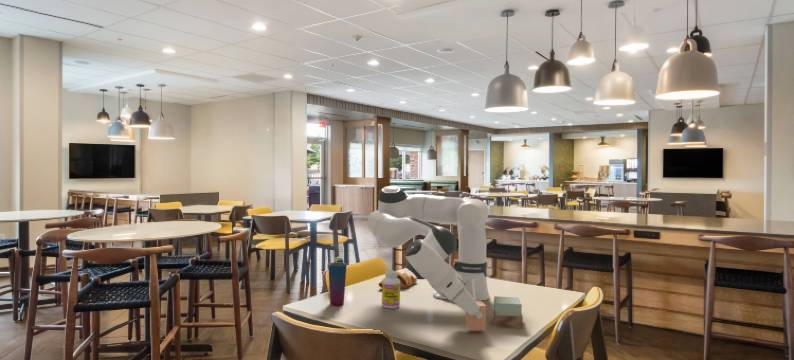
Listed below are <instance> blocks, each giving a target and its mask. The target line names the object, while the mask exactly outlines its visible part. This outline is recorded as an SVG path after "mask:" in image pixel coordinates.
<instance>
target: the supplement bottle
mask: <svg viewBox="0 0 794 360" xmlns="http://www.w3.org/2000/svg"><path fill="white" fill-rule="evenodd" d="M398 272H399V271H396V270H392V269H391V270H385V271H384V275H385V277H384V278H383V279H382V280H383V281H382V280H381V281H382V288H381V306H382V308H384V309H397V308H399V307H400V305H401V303H400V302H401V289H400V280H399V279H398V278H397V276H398Z"/></svg>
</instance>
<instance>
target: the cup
mask: <svg viewBox="0 0 794 360" xmlns="http://www.w3.org/2000/svg"><path fill="white" fill-rule="evenodd" d="M327 265H328V266H327V268H328V283H329V284H328V285H329V304H330V305H331V306H333V307H341V306H343V305H344V304H345V294H346V293H345V290H346V281H347V279H346V278H347V266H348V264H347V263H346V262H343V263H342V262H335V261H334V262H329V263H327Z"/></svg>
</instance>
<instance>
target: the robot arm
mask: <svg viewBox="0 0 794 360" xmlns="http://www.w3.org/2000/svg"><path fill="white" fill-rule="evenodd" d="M377 197H378V198H377V200H378V202H377V203H378V206H377V210H376V209H375V210H374V211H372V212H371V213H370V214H369V215H368V218H367V221H366V222H367V226H368V229H369V231H370V232H371V234H372V235H373V237H374V238H375V239H376V240H377V241H378V242H379V243H381V244H382V245H384V247H388V248H392V249H393V248H398V247H400V246H402V245H404V244H406V243H407V242H408V241H409V240H411V239H413V238H415V237H416V236H419V235H421V236H423V237H424V238H423V239H421V238H419V239H415V240H414V241H412V242H411V243H410V244H409V245H408V246H407V248H406V249H405V252H404V257H405V267H406V269H407V271H410V272H411V274H413V275H414V277H417V280H426V281H427V282H428V284H429V285H430V287H431V288H432V289H433V292H432V294H433V295H432V296H433V297H434V298H436V299H442V300H448V301H449V302H453V303H454V304H455V305H457V306H458V307H459V308H460V309H462V310H463V311H464V312H465V313H466V312H467V313H468V314H469V315H471V316H473V315H476V316H477V317H478V318H479V319H480V318H481V317H482V316H483V314H482V313H481V312H480V311H479V309H480V307H479V305H478V304H477V303H476V301H482V302H483V301H486V300H488V299H490V298H491V297H490V293H489V288H488V283H487V282H488V281H487V276H488V261H487V237H486V236H487V235H486V233H487V232H486V222H487V219H488V217H489V214H490V212H489V208H488V205H487V204H486V203H485V202H484V201H483V200H481V199H479V198H468V197H457V196H456V197H453V196H441V195H432V194H431V195H430V194H423V193H422V194H421V193H420V194H418V193H415V194H408V193H407V192H405V191H404V190H403V188H401V187H398V186H395V185H391V186H390V185H389V186H387V185H386V186H384V187H383V188H381V189H380V190H379V192H378V196H377ZM429 222H430V223H429ZM433 223H435V224H444V225H445V224H447V225H449V224H451V225H456V226H457V228H456V230H457V237H458V241H457V237H456V236H455V235H454V233H453V232H451V231H450V230H449V229H448V228H445V226H444V227H443V226H441V225H435V224H433ZM457 242H458V245H457ZM457 246H458V259H453V261H452V265H451V264H450V263H448V262H446V261H445V260H446V259H447V258H448V257H450V256H451V255H452V254H453V253H454V252H455V251H456V250H457Z"/></svg>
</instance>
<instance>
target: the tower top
mask: <svg viewBox="0 0 794 360" xmlns="http://www.w3.org/2000/svg"><path fill="white" fill-rule="evenodd" d="M522 307H523V304H522V302H521V300H520V298H519V297H516V296H498V295H497V296H496V295H495V296H494V297H493V311H494V310H495V313H496V315H500V316H518V317H521V315H522V316H523V311H522V309H523V308H522Z"/></svg>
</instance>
